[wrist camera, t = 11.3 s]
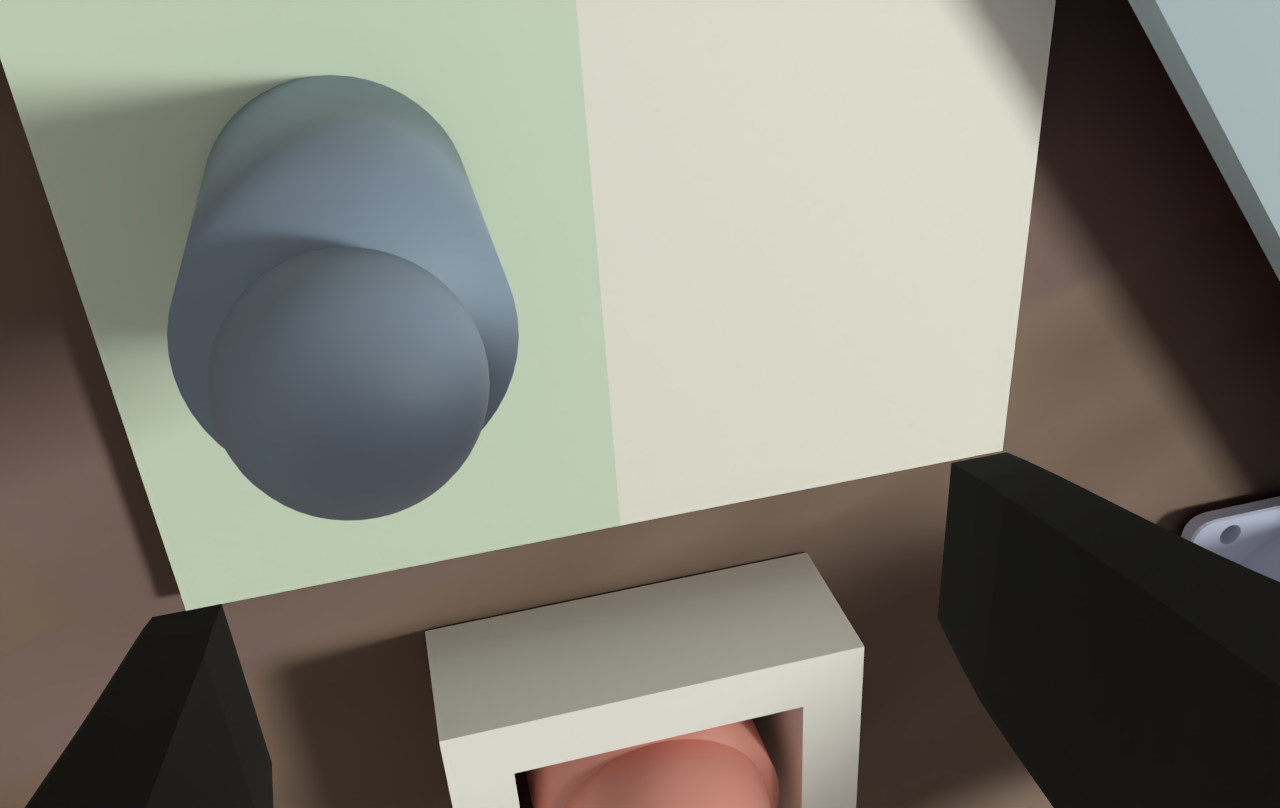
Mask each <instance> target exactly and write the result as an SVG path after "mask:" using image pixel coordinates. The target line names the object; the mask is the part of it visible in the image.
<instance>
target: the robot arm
mask: <svg viewBox="0 0 1280 808" xmlns="http://www.w3.org/2000/svg"><path fill="white" fill-rule="evenodd" d="M938 620H939V622H940V624H941V626H942V628H943V630H944V632H945V634H946V636H947V638H948V640H949V642H950V644H951V646H952V648H953V650H954V652H955V654H956V656H957V658H958V660H959V662H960V664H961V666H962V668H963V670H964V672H965V674H966V675H967V677H968V679H969V681H970V683H971V685H972V687H973V689H974V690H975V692H976V694H977V696H978V698H979V700H980V702H981V703H982V705H983V706H984V708H985V709H986V711H987V712H988V714H989V715H990V717H991V718H992V720H993V721H994V722H995V724H996V725H997V727H998V728H999V730H1000V731H1001V733H1002V734H1003V736H1004V737H1005V738H1006V740H1007V741H1008V743H1009V744H1010V746H1011V747H1012V749H1013V750H1014V751H1015V753H1016V754H1017V756H1018V757H1019V759H1020V760H1021V762H1022V763H1023V765H1024V766H1025V767H1026V769H1027V770H1028V772H1029V773H1030V775H1031V776H1032V777H1033V779H1034V780H1035V782H1036V783H1037V784H1038V786H1039V787H1040V789H1041V790H1042V792H1043V793H1044V794H1045V796H1046V797H1047V799H1048V800H1049V802H1050V803H1051V804H1052V806H1053V807H1054V808H1280V496H1279V497H1274V498H1270V499H1265V500H1260V501H1256V502H1251V503H1246V504H1242V505H1237V506H1232V507H1228V508H1223V509H1218V510H1213V511H1209V512H1204V513H1202V514H1199V515H1196V516H1195V517H1194V518H1192V519H1191V520H1190V521H1189V522H1188V523H1187V524H1186V525H1185V527H1184V530H1183V532H1182V535H1181V537H1180V536H1178V535H1176V534H1174V533H1172V532H1170V531H1168V530H1166V529H1164V528H1162V527H1160V526H1158V525H1156V524H1154V523H1152V522H1150V521H1148V520H1146V519H1144V518H1142V517H1140V516H1138V515H1136V514H1134V513H1132V512H1130V511H1128V510H1126V509H1124V508H1122V507H1120V506H1118V505H1116V504H1114V503H1112V502H1110V501H1108V500H1106V499H1104V498H1102V497H1100V496H1098V495H1096V494H1094V493H1092V492H1090V491H1088V490H1086V489H1084V488H1082V487H1080V486H1078V485H1076V484H1074V483H1072V482H1070V481H1068V480H1066V479H1064V478H1062V477H1060V476H1058V475H1056V474H1054V473H1052V472H1049V471H1047V470H1045V469H1043V468H1041V467H1039V466H1037V465H1035V464H1032V463H1030V462H1028V461H1026V460H1023V459H1021V458H1019V457H1016V456H1014V455H1012V454H1009V453H1007V452H1006V453H1001V454H996V455H991V456H986V457H981V458H975V459H970V460H965V461H960V462H955V463H952V464H951V475H950V486H949V498H948V509H947V520H946V532H945V543H944V554H943V566H942V577H941V588H940V600H939V611H938ZM25 808H273V787H272V762H271V759H270V756H269V753H268V750H267V746H266V743H265V740H264V737H263V734H262V731H261V727H260V724H259V721H258V718H257V715H256V712H255V708H254V705H253V702H252V699H251V696H250V693H249V689H248V686H247V683H246V680H245V677H244V673H243V670H242V667H241V664H240V661H239V658H238V654H237V651H236V648H235V645H234V642H233V639H232V635H231V632H230V629H229V626H228V623H227V620H226V616H225V613H224V610H223V607H222V604H219V605H213V606H208V607H203V608H198V609H193V610H187V611H182V612H177V613H172V614H167V615H162V616H156V617H152V618H151V620H150V621H149V622H148V624H147V625H146V626H145V627H144V629H143V630H142V631H141V633H140V635H139V636H138V638H137V639H136V641H135V642H134V644H133V645H132V647H131V648H130V650H129V652H128V653H127V655H126V656H125V658H124V660H123V661H122V663H121V664H120V666H119V667H118V669H117V671H116V672H115V674H114V675H113V677H112V678H111V680H110V682H109V683H108V685H107V686H106V688H105V689H104V691H103V693H102V694H101V696H100V697H99V699H98V700H97V702H96V703H95V705H94V706H93V708H92V709H91V711H90V713H89V714H88V716H87V717H86V719H85V720H84V722H83V723H82V725H81V726H80V728H79V729H78V731H77V732H76V734H75V735H74V737H73V738H72V740H71V741H70V743H69V744H68V746H67V747H66V749H65V750H64V751H63V753H62V754H61V756H60V757H59V759H58V760H57V762H56V763H55V765H54V766H53V767H52V769H51V770H50V772H49V773H48V775H47V776H46V778H45V779H44V780H43V782H42V783H41V785H40V786H39V788H38V789H37V791H36V792H35V794H34V795H33V796H32V798H31V799H30V801H29V802H28V804H27V805H26V806H25Z"/></svg>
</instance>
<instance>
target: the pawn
mask: <svg viewBox="0 0 1280 808" xmlns="http://www.w3.org/2000/svg"><path fill="white" fill-rule="evenodd" d="M518 341H519V331H518V316H517V312H516V307H515V302H514V297H513V295H512V292H511V289H510V286H509V284H508V281H507V278H506V276H505V273H504V270H503V268H502V265H501V263H500V260H499V257H498V255H497V252H496V249H495V247H494V244H493V242H492V239H491V236H490V234H489V231H488V228H487V226H486V223H485V221H484V218H483V215H482V213H481V210H480V207H479V205H478V202H477V200H476V197H475V194H474V192H473V189H472V187H471V184H470V181H469V179H468V176H467V173H466V171H465V168H464V166H463V163H462V160H461V158H460V155H459V153H458V152H457V150H456V148H455V146H454V144H453V142H452V140H451V139H450V138H449V136H448V135H447V133H446V132H445V131H444V129H443V128H442V126H441V125H440V124H439V123H438V122H437V121H436V120H435V119H434V118H433V117H432V116H431V115H430V114H429V113H428V112H427V111H426V110H425V109H423V108H422V107H421V106H420V105H419V104H417V103H416V102H414V101H413V100H411V99H410V98H408V97H407V96H405V95H403V94H402V93H400V92H398V91H396V90H394V89H392V88H389V87H387V86H385V85H382V84H379V83H376V82H373V81H370V80H366V79H361V78H356V77H351V76H339V75H323V76H311V77H306V78H301V79H295V80H292V81H289V82H286V83H283V84H280V85H277V86H275V87H273V88H271V89H269V90H267V91H265V92H263V93H261V94H260V95H258V96H257V97H255V98H254V99H253V100H251V101H250V102H248V103H247V104H246V105H245V106H243V107H242V108H241V109H240V110H239V111H238V112H237V113H236V114H235V115H234V116H233V117H232V118H231V119H230V121H229V122H228V123H227V124H226V125H225V127H224V128H223V129H222V131H221V133H220V134H219V136H218V138H217V139H216V141H215V143H214V145H213V147H212V150H211V152H210V154H209V157H208V159H207V163H206V167H205V171H204V175H203V179H202V183H201V187H200V191H199V195H198V199H197V202H196V206H195V210H194V214H193V218H192V222H191V226H190V230H189V234H188V238H187V242H186V246H185V250H184V254H183V258H182V261H181V265H180V269H179V273H178V277H177V281H176V285H175V289H174V293H173V297H172V301H171V305H170V309H169V315H168V327H167V342H168V355H169V359H170V364H171V368H172V373H173V376H174V379H175V381H176V384H177V386H178V389H179V392H180V394H181V396H182V398H183V400H184V401H185V403H186V405H187V407H188V408H189V410H190V412H191V413H192V415H193V416H194V417H195V419H196V420H197V421H198V423H199V424H200V425H201V426H202V428H203V429H204V430H205V431H206V432H207V433H208V434H209V435H210V436H211V437H212V438H213V439H214V440H215V441H216V442H217V443H218V444H219V445H220V446H221V447H223V448H224V449H225V450H226V452H227V454H228V455H229V457H230V458H231V460H232V461H233V462H234V464H235V465H236V466H237V467H238V469H239V470H240V471H241V473H242V474H243V475H244V476H245V477H246V478H247V479H248V480H249V481H250V482H251V483H252V484H253V485H254V486H256V487H257V488H258V489H260V490H261V491H262V492H264V493H265V494H266V495H268V496H269V497H270V498H272V499H274V500H275V501H277V502H279V503H281V504H282V505H284V506H286V507H289V508H291V509H293V510H295V511H298V512H301V513H304V514H307V515H311V516H314V517H319V518H325V519H330V520H344V521H350V520H366V519H373V518H379V517H383V516H387V515H391V514H394V513H397V512H400V511H402V510H405V509H408V508H410V507H412V506H414V505H416V504H418V503H420V502H421V501H423V500H425V499H426V498H428V497H429V496H431V495H432V494H434V493H435V492H436V491H437V490H439V489H440V488H441V487H442V486H443V485H445V484H446V483H447V482H448V481H449V480H450V479H451V477H452V476H453V475H454V474H455V473H456V472H457V471H458V470H459V469H460V468H461V466H462V465H463V464H464V462H465V461H466V459H467V458H468V457H469V455H470V453H471V451H472V449H473V447H474V446H475V444H476V442H477V440H478V437H479V435H480V432H481V430H482V429H483V428H484V427H485V426H486V425H487V423H488V422H489V420H490V419H491V418H492V416H493V415H494V413H495V412H496V411H497V409H498V407H499V405H500V404H501V402H502V400H503V398H504V396H505V394H506V392H507V390H508V387H509V384H510V382H511V379H512V376H513V373H514V368H515V364H516V359H517V353H518Z"/></svg>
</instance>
